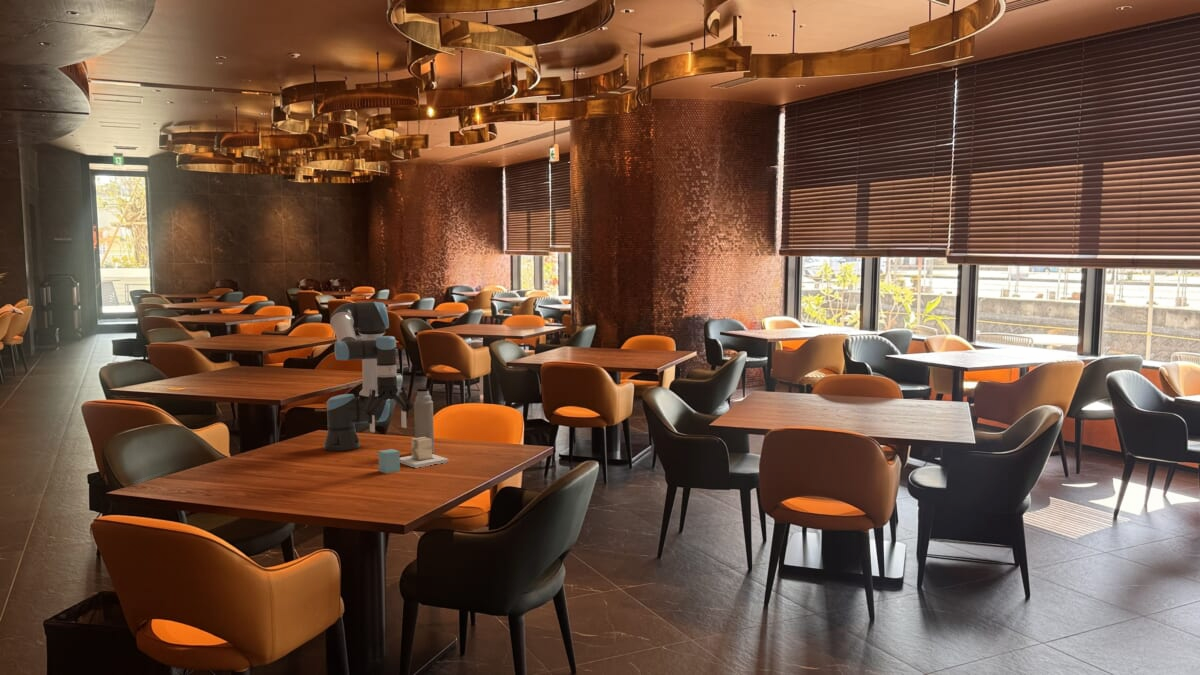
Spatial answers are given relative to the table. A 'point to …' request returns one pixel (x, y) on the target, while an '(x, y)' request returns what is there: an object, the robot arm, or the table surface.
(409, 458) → the base plate
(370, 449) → the table surface
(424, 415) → the thermos bottle
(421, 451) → the maple block
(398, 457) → the teal block
